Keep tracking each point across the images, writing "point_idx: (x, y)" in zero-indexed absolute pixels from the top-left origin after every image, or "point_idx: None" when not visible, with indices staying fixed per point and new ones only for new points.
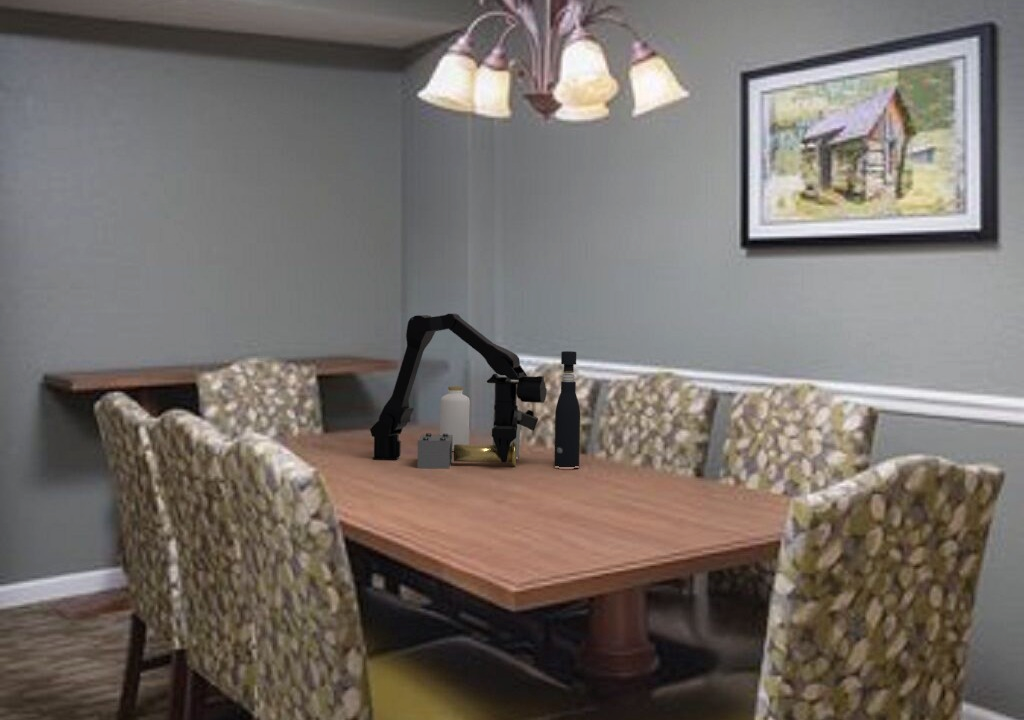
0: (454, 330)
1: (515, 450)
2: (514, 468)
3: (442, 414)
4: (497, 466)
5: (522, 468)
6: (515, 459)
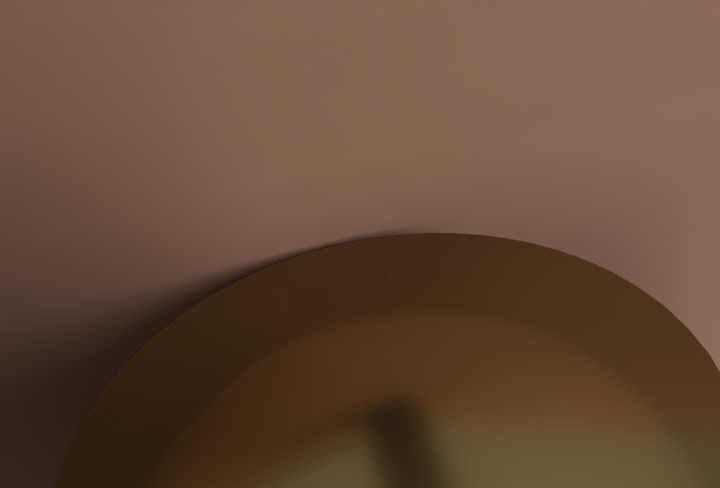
0: None
1: (713, 380)
2: (515, 212)
3: None
4: None
5: (495, 96)
6: (567, 260)
